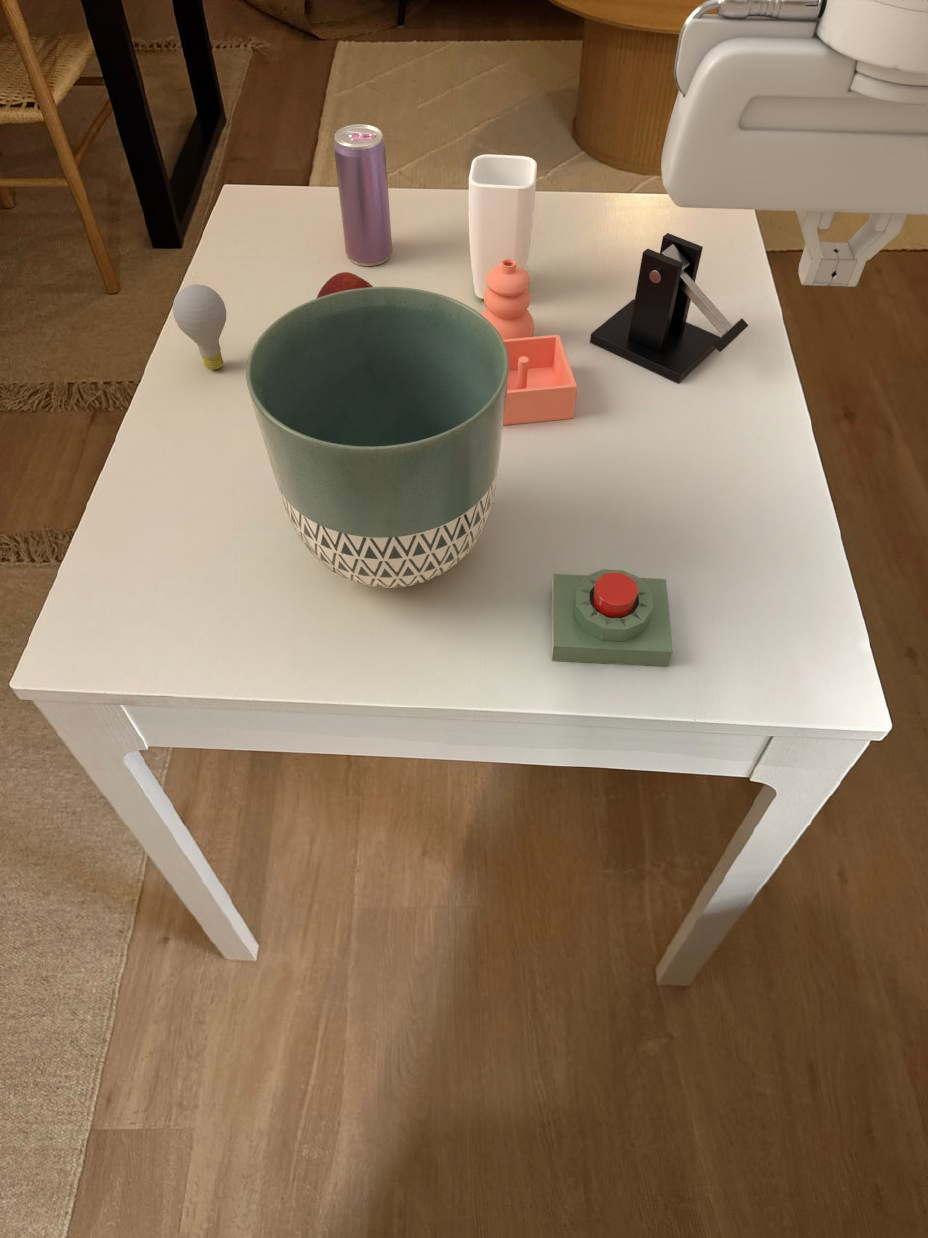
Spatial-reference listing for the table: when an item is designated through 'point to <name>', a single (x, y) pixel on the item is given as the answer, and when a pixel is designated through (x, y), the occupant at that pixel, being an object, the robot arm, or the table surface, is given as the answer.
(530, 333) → the pottery
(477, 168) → the cup
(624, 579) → the button
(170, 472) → the table surface
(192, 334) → the light bulb
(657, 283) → the bracket
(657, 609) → the control block
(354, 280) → the apple
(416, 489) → the planter
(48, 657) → the table surface
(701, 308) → the lever
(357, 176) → the beverage can
